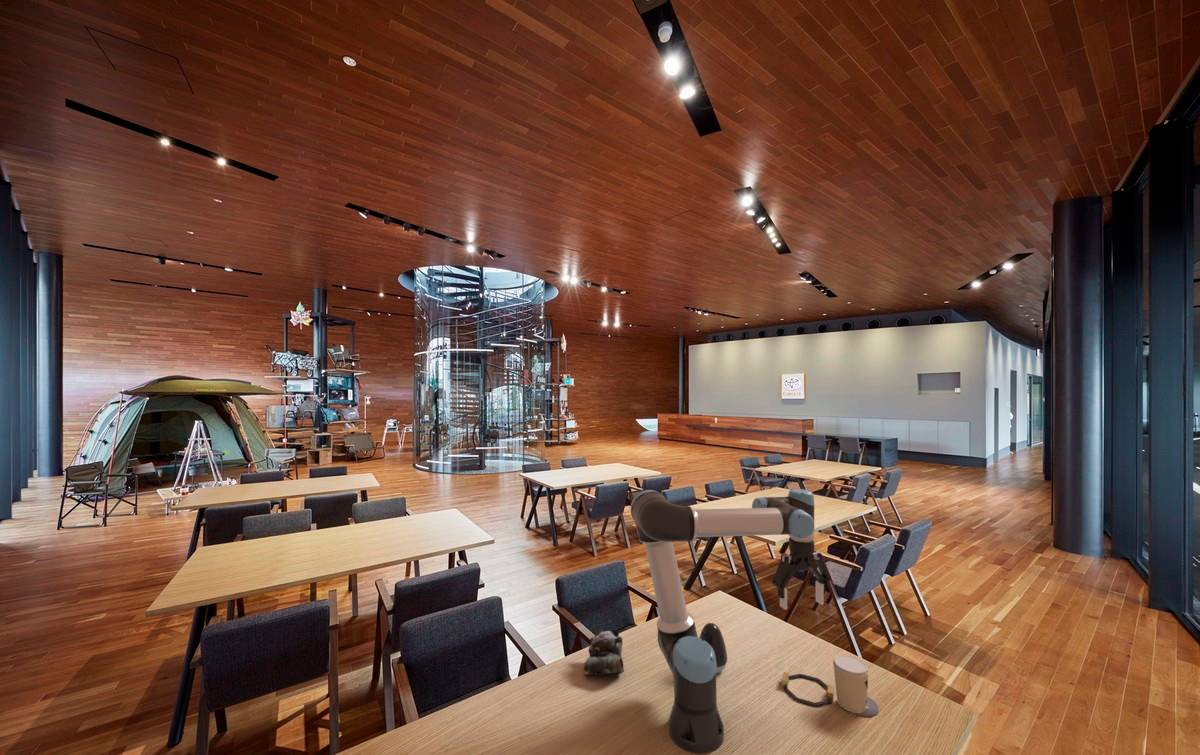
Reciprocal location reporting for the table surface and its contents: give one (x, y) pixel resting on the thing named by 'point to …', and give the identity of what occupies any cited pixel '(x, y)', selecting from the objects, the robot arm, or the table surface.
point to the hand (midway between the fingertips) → (801, 605)
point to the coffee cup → (851, 683)
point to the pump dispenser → (715, 644)
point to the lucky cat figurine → (605, 654)
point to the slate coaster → (870, 709)
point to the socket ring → (830, 687)
